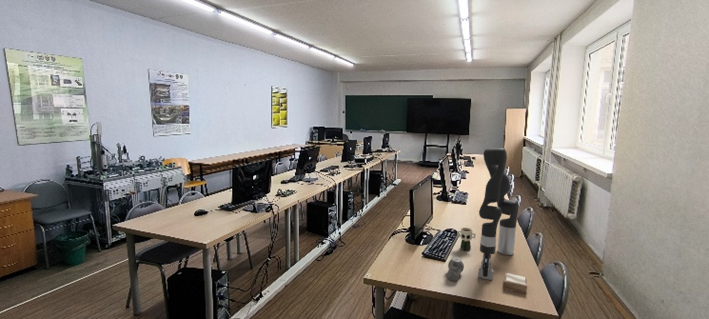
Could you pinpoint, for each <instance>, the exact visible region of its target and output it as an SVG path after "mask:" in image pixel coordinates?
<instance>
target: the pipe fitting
mask: <svg viewBox="0 0 709 319" xmlns="http://www.w3.org/2000/svg"><path fill="white" fill-rule="evenodd" d="M447 267H448V270H447V273H446V277H447V279H448V280H449V281H450V282H456V281H458V280H459V279H460V278H459V277H460V274H462V273H463V271H464V267H465V265H464V262H462V259H461V258H460V257H458V256H453V257H451V259H449V261H448V265H447Z"/></svg>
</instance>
